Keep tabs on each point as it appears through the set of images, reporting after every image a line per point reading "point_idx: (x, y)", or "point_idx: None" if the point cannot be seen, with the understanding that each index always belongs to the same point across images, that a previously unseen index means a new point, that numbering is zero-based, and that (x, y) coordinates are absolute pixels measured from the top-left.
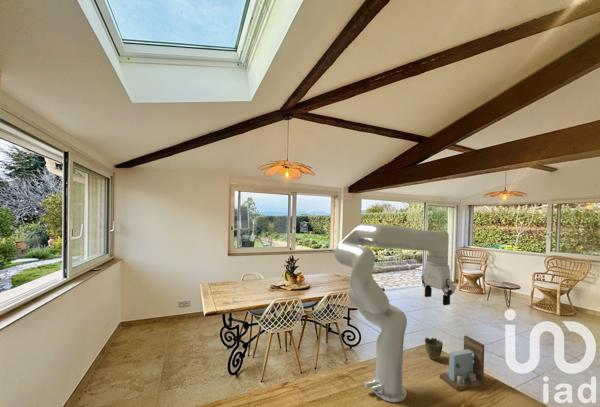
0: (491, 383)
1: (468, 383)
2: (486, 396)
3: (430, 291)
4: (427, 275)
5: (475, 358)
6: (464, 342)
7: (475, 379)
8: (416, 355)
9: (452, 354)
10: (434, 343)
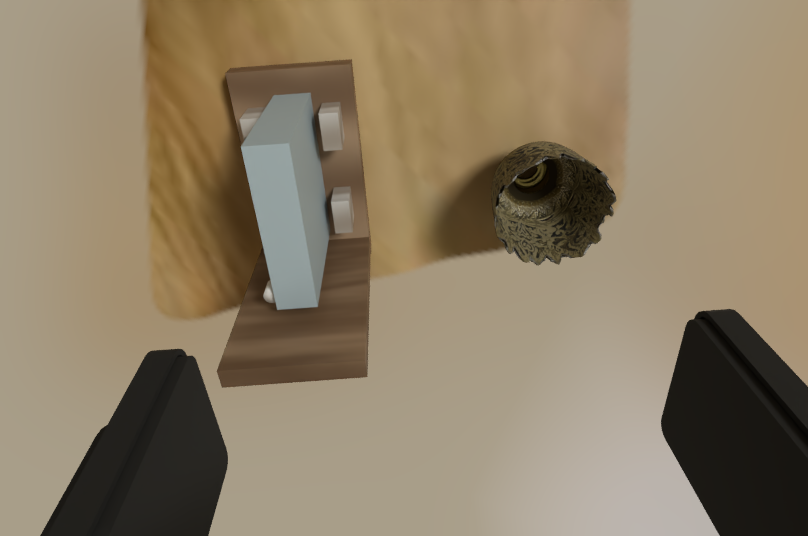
0: None
1: None
2: (183, 188)
3: (726, 510)
4: None
5: None
6: (360, 330)
7: None
8: (590, 83)
9: (258, 144)
10: (572, 231)
